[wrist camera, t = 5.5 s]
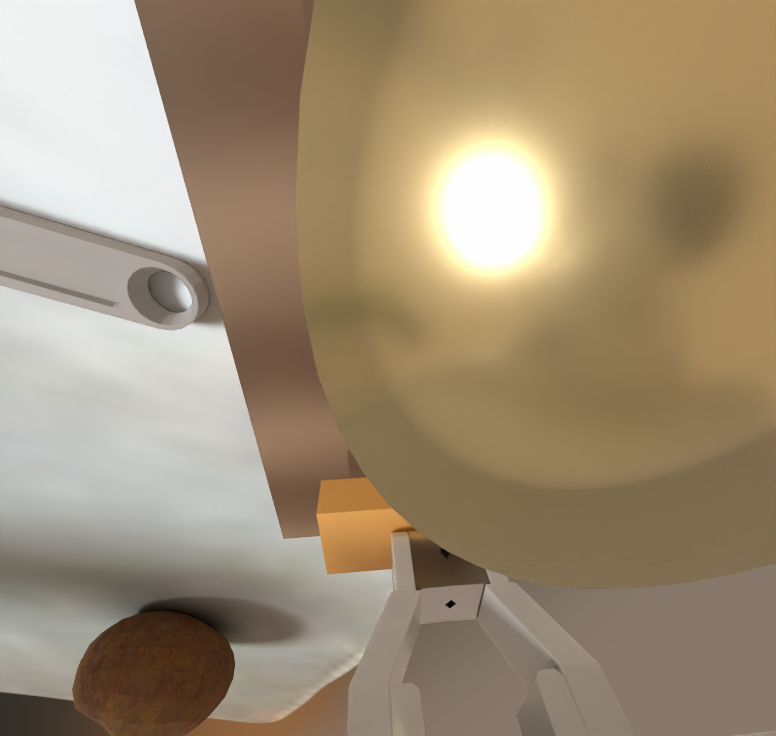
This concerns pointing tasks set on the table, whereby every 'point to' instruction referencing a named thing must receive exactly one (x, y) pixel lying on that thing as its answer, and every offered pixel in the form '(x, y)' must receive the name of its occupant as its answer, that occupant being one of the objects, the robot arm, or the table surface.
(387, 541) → the block
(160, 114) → the table surface
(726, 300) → the gold rounded cylinder
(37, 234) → the adjustable wrench
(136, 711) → the potato
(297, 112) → the socket block
